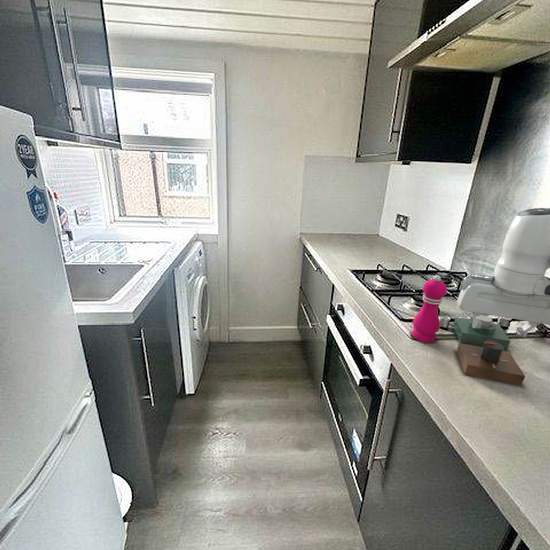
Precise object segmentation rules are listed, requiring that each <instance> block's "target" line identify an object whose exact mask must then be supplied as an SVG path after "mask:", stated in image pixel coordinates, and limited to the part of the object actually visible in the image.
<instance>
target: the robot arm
mask: <svg viewBox="0 0 550 550" xmlns="http://www.w3.org/2000/svg"><path fill="white" fill-rule="evenodd" d="M510 223H511V224H510V226H509V228H508V230H507V232H506V234H505V237H504V239H503V242H502V253H501V256H500V257H499V258H498V260H497V262H496V265H495V268H494V271H493V274H492V276H491V275H482V274H481V275H480V274H476V273H472V274H471V275H467V276H465V277H463V279H462V282H461V290H460V292H459V293H458V296H457V299H456V304H457V306H458V308H459V309H460V310H461V311H464V312H469V313H470V315H471V318H473V323H472V327H473V328H476V329H481V326H482V323H481V321H480V320H477V317H479V315H486V316H493V317H500V318H506V319H512V320H518V321H524V322H526V323H525V324H523V326H517V328H516V330H515V335H516V336H517V337H522V338H526V337H527V335H528V332H531V331H532V330H533V329H535V328H536V327H537V326H538V324H542V325H549V326H550V277H548V276H546V273H547V270H549V269H550V207H547V208H546V207H536V208H529V209H525V210H522V211H520V212H518V213H517V214H516V215H515V217H513V220H512V222H510ZM476 316H477V317H476Z"/></svg>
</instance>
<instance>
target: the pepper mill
mask: <svg viewBox="0 0 550 550" xmlns="http://www.w3.org/2000/svg"><path fill="white" fill-rule="evenodd" d="M422 291H423V294H422V300H423V304H422V306H421V308H420V310H419V311H418V312H417V313H416V314H415V316H414V318H413V320H412V326H413V327H414V328H413V329H412V332H411V334H412V337H413V338H414V339H415V340H417V341H419V342H422V343H433V342H435V340H436V336H437V334H436V333H438V332H439V331H440V328H441V321H440V317H439V311H438V310H439V307H440V305H441V304H442V303H443V297H444V296H445V295H446V294H447V291H448V287H447V285H446V284H445V283H444V282H443V281H442V278H441V276H440V275H438V274H436V275H434V277H433V279H429V280H426V281H425V282H424V283H423V286H422Z"/></svg>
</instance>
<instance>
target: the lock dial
mask: <svg viewBox="0 0 550 550" xmlns="http://www.w3.org/2000/svg"><path fill="white" fill-rule="evenodd" d="M482 347H483V349H482V352H481V357H482V358H483V359H484V360H486V361H489V362H492V363H497V362H499V360H500V357H501V354H502V352H503V351H504V350H503V349H504V347H503V346H502V345H501V344H500V343H498V342H495V341H490V340H487V341H485V342H484V346H482Z"/></svg>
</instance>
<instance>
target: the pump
mask: <svg viewBox="0 0 550 550" xmlns="http://www.w3.org/2000/svg"><path fill="white" fill-rule="evenodd" d="M476 317H477V316H476ZM477 320H480V321H481V323H482V326H483V327H490V326H491V323H492V322H493V319H492V318H491V317H490V316H488V315H485V314H480V315H479V317H477Z"/></svg>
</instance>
